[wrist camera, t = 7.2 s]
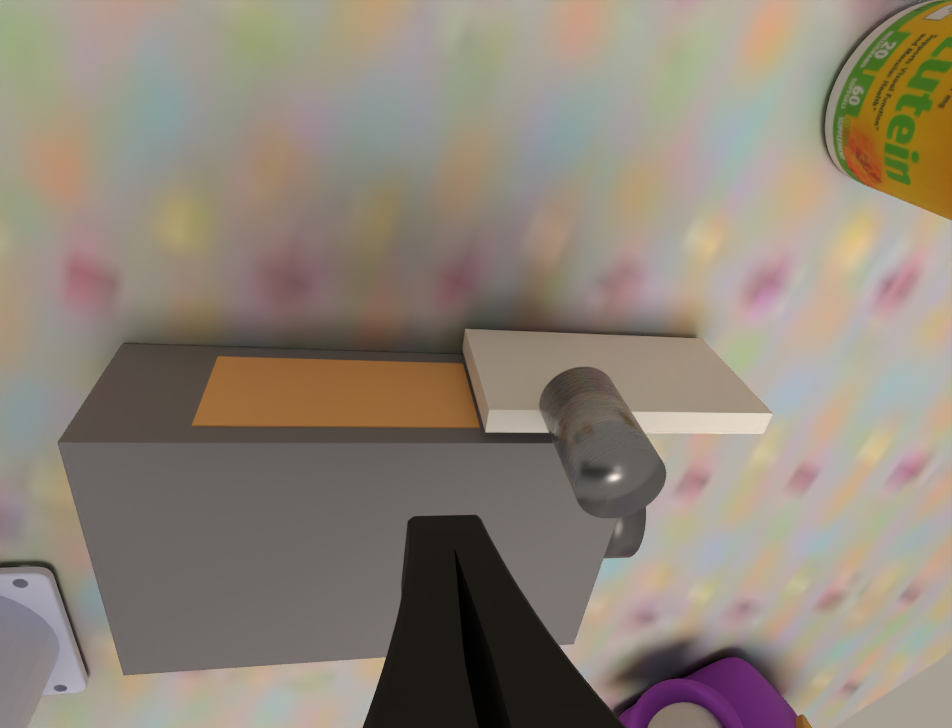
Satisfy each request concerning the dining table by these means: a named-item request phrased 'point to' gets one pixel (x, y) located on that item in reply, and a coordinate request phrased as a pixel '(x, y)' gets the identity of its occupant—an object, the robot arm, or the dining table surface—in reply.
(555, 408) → the side door
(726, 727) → the toy camera
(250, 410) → the camera housing
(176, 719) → the dining table surface
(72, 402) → the dining table surface
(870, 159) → the supplement bottle
